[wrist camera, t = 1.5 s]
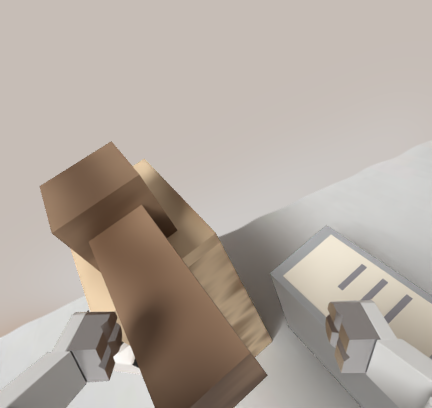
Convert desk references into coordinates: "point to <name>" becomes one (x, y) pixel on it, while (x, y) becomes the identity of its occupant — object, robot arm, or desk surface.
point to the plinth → (349, 291)
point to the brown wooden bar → (150, 284)
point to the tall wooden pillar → (195, 260)
